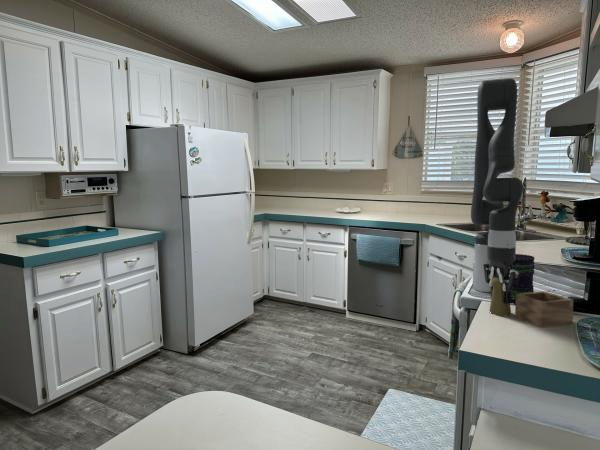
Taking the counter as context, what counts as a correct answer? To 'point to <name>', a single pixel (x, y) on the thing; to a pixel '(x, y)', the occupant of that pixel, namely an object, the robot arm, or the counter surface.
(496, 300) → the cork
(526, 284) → the storage jar
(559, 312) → the open walnut box
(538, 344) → the counter surface
